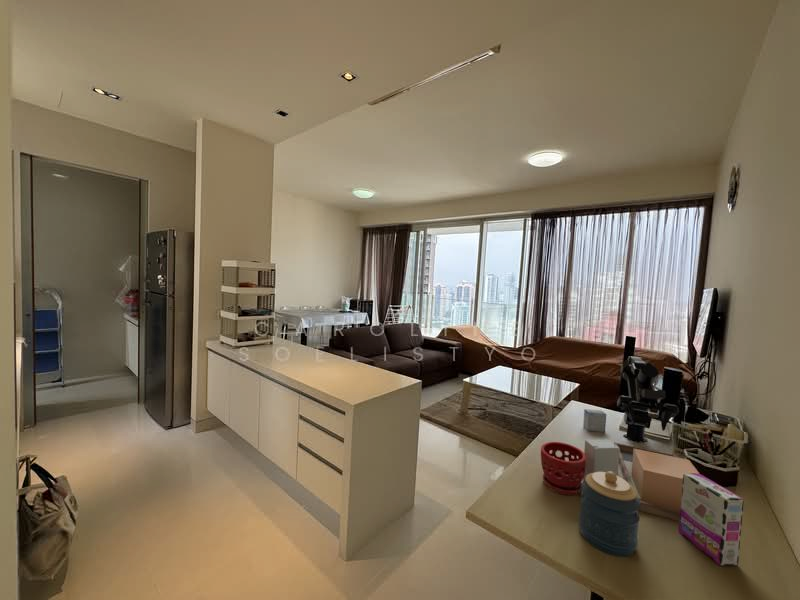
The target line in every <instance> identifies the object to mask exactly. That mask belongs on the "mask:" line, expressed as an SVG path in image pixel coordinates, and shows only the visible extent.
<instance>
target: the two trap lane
mask: <svg viewBox="0 0 800 600" xmlns="http://www.w3.org/2000/svg"><path fill="white" fill-rule="evenodd" d="M613 444H615V445H616V446H617V447H618V448H620V451H619V467H620V468H619V469H620V470H621V474H622V476H623V479H624V480H626V481H627V482H628V483H629V484H630V485H632V486H633V487H634V488H635V490H636V491H637V489H636V487H635V484H634V482H633V479H632V477H631V476H630V473H629V469H628V468H627V465H626V463H625V461H626V462H633V448H634V449H639V450H644V451H648V452H653V453H658V454H663V455H668V456H673V457H678V456H677V454H674V453H668V452H664V451H663V452H662V451H659V450H655V449H648V448H644V447H639V446H633V445H629V444H624V443H619V442H613ZM637 498H638V499H639V501H640V503H641V507H640V509H639V510H638V511H640V512H642V513H643V512H644V513H648V514H650V515H655V516H658V517H662V518H665V519H669V520H673V521H676V522H679V521H680V511H678V510H674V509H670V508H667V507H663V506H659V505H655V504H651V503H647V502H643V501H641V500H640V497H639V495H638V492H637Z"/></svg>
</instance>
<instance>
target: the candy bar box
mask: <svg viewBox="0 0 800 600" xmlns="http://www.w3.org/2000/svg"><path fill="white" fill-rule="evenodd" d="M744 502H745V498H743V497H741V496H740V495H738V494H735V493H734V492H732V491H730V490H728V489H727V488H725V487H723V486H721V485H720V484H718V483H716V482H715V481H713V480H712V479H709V478H708V477H706V476H704V475H703V474H700V473H699V474H698V473H692V474H683V484H682V497H681V510H680V521H678V522H679V525H678V533H679V534H680V535H682V536H683V537H684V538H686V539H687V540H688V541H689V542H690V543H691V544H693V545H694V546H696V548H698V549H699V550H700V551H702V552H703V553H704V554H706V555H707V556H708V557H709V558H710V559H712V560H713V561H714V562H716V563H717V564H718V565H719V566H722V567H723V566H727V567H728V566H729V567H730V566H735V567H736V566H738V565H739V560H740V549H741V548H740V547H741V536H742V535H741V534H742V528H743V527H742V525H743V524H742V523H743V513H744V505H745V504H744Z"/></svg>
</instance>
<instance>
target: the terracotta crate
mask: <svg viewBox="0 0 800 600" xmlns="http://www.w3.org/2000/svg"><path fill="white" fill-rule="evenodd" d="M692 473H698V474H700V472H699V471H698V470H697V468H696V467H695V466H694V465H693V463H692V462H691V461H690V459H687V458H681V457H678V456H677V457H673V456H668V455H663V454H658V453H653V452H648V451H644V450H639V449H634V448H633V462H632V463H631V476H630V477H632V479H633V482H634V484H635V487H636V489H637V492H638V495H639V497H640V500H641V501H643V502H647V503H651V504H655V505H659V506H663V507H667V508H670V509H674V510H678V511H680V510H681V497H682V484H683V474H692Z"/></svg>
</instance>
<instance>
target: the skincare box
mask: <svg viewBox="0 0 800 600" xmlns="http://www.w3.org/2000/svg"><path fill="white" fill-rule="evenodd" d="M619 451H620V448H618V447H617V446H616V445H615V444H614V442H612V441H611V440H609V439H585V440H584V451H583V453H584V454H585V456H586V469H585V474H584V477H583V480H582V483H583V482H584V481H585V477H586V476H587V475H588V474H590V473H595V472H608V471H612V472H614V473H615V474H616V475H617V476H619V467H620V465H619Z"/></svg>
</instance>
